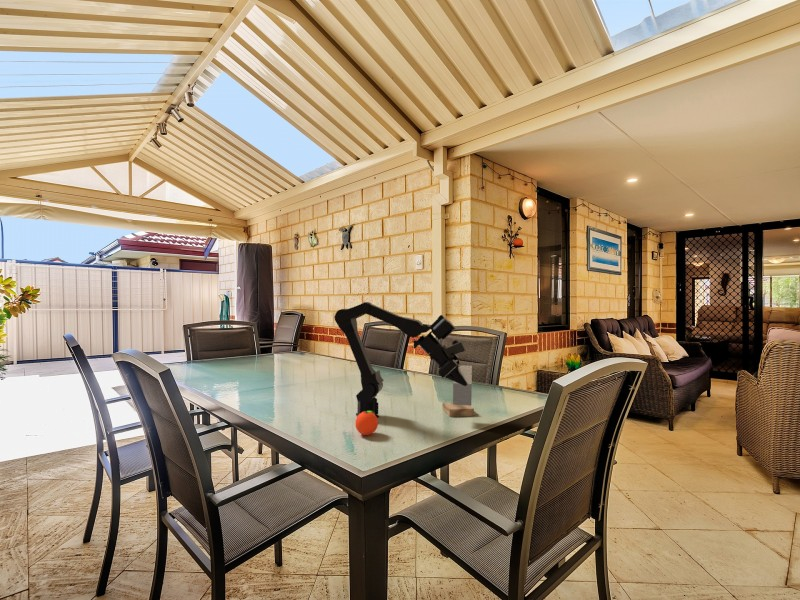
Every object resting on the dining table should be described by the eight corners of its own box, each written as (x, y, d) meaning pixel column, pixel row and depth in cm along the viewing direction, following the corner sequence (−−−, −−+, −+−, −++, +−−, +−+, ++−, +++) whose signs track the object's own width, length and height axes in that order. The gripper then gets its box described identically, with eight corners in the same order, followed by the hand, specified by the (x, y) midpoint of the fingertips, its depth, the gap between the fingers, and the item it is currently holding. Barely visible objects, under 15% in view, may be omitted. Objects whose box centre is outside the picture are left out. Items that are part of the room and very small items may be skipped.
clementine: (365, 428, 125) (366, 406, 125) (384, 432, 121) (384, 409, 121) (350, 435, 118) (350, 412, 118) (369, 440, 114) (369, 415, 114)
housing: (452, 404, 129) (453, 368, 129) (453, 399, 135) (454, 365, 135) (471, 405, 128) (471, 368, 128) (471, 400, 134) (471, 365, 134)
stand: (449, 416, 138) (449, 409, 138) (442, 409, 147) (442, 402, 147) (473, 415, 139) (473, 408, 139) (465, 408, 148) (465, 402, 148)
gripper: (449, 335, 123) (485, 371, 121) (452, 330, 141) (483, 362, 139) (424, 359, 124) (459, 395, 122) (430, 351, 143) (460, 383, 141)
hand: (466, 383), depth 131 cm, fingers closed on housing, 6 cm apart
